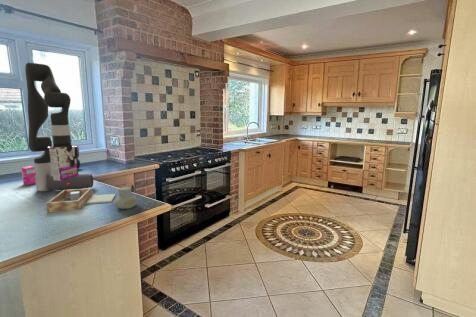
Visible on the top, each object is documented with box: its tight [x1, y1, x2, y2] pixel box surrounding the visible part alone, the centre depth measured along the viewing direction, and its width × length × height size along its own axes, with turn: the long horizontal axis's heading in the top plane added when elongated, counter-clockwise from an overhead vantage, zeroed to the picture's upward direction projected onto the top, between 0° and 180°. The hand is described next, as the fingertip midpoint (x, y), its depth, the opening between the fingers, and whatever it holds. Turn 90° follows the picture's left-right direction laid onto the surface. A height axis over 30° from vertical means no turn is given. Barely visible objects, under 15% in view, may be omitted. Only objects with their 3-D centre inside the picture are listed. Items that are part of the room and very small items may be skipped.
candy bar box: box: [49, 144, 79, 181], centre depth 132 cm, size 11×5×16 cm, turn 168°
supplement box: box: [20, 165, 36, 186], centre depth 173 cm, size 6×6×12 cm
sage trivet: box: [86, 193, 116, 205], centre depth 145 cm, size 12×12×1 cm
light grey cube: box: [70, 191, 80, 201], centre depth 145 cm, size 4×4×4 cm
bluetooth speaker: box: [47, 173, 94, 192], centre depth 160 cm, size 23×9×10 cm, turn 106°
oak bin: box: [45, 187, 93, 213], centre depth 139 cm, size 14×22×4 cm, turn 14°
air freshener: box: [113, 186, 138, 210], centre depth 134 cm, size 11×8×10 cm
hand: (64, 167), depth 133 cm, fingers closed on candy bar box, 6 cm apart
